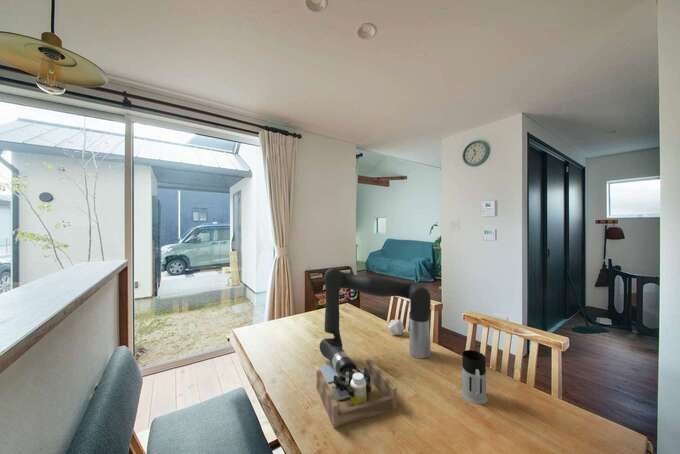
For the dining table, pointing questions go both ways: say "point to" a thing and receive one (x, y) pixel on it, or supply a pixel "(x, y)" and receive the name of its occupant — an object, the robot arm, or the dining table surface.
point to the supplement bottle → (358, 389)
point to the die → (396, 327)
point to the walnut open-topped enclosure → (359, 410)
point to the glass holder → (474, 377)
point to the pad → (329, 372)
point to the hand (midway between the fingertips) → (361, 392)
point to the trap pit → (342, 393)
